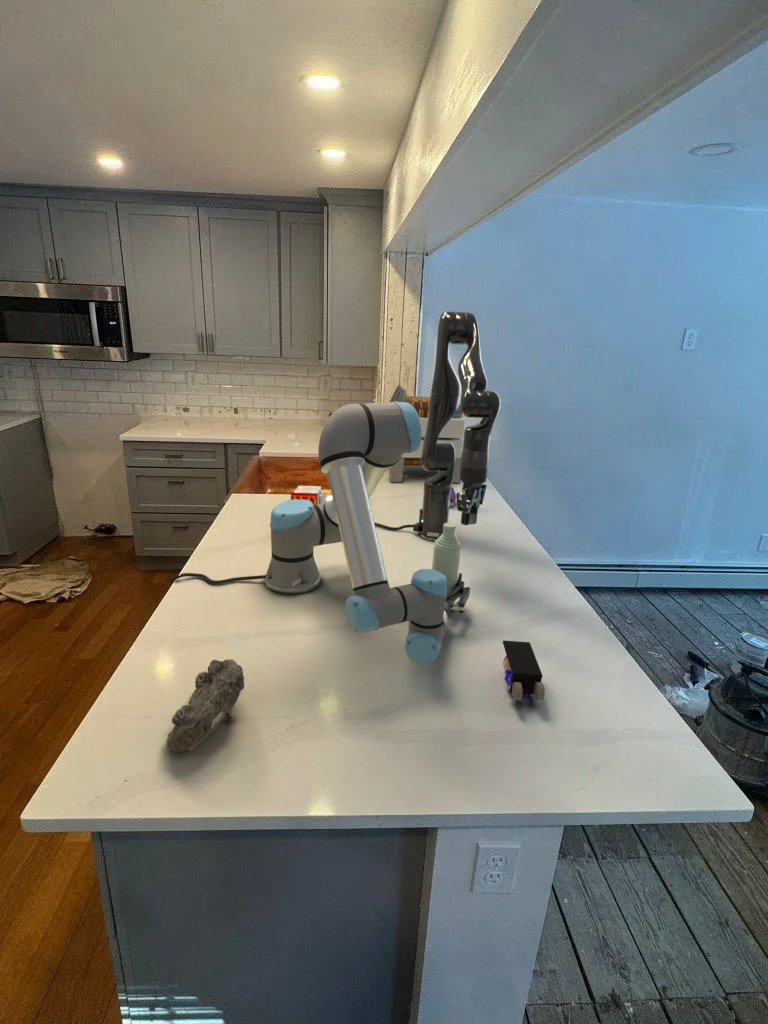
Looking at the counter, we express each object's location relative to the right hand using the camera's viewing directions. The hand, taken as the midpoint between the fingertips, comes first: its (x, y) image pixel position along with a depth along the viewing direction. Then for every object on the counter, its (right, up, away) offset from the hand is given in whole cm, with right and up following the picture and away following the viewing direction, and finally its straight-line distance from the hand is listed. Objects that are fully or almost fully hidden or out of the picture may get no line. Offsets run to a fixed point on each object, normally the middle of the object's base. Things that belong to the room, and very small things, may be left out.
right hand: (468, 522), depth 162 cm
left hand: (-7, -15, -7) cm, 18 cm away
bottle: (-9, -22, -9) cm, 26 cm away
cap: (0, +2, -1) cm, 2 cm away
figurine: (+1, +6, +70) cm, 71 cm away
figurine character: (+5, -35, -42) cm, 54 cm away
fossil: (-57, -36, -54) cm, 86 cm away
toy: (-53, +1, +49) cm, 72 cm away
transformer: (-7, +22, +113) cm, 115 cm away
